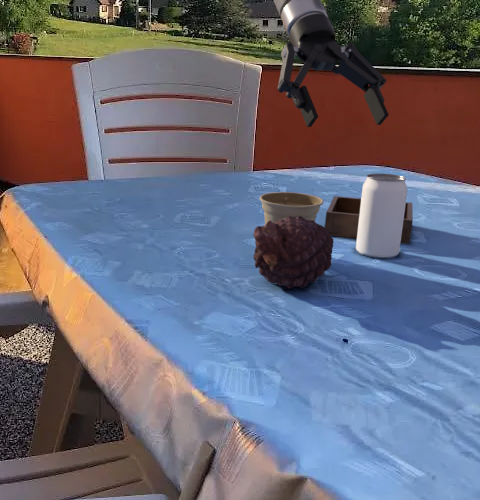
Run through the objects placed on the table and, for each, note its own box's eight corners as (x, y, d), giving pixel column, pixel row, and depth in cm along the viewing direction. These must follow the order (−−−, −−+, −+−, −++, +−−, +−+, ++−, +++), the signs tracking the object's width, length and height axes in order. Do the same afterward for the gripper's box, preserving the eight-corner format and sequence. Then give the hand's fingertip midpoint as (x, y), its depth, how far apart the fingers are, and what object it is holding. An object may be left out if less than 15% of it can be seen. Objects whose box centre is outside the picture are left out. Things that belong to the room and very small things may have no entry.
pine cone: (280, 257, 107) (323, 207, 103) (325, 304, 102) (372, 253, 98) (215, 251, 93) (262, 192, 89) (264, 304, 88) (315, 245, 84)
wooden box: (409, 224, 128) (412, 202, 126) (409, 244, 115) (412, 220, 114) (331, 216, 132) (334, 195, 131) (324, 235, 120) (326, 212, 119)
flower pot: (320, 264, 104) (325, 207, 102) (255, 260, 106) (259, 203, 103) (316, 246, 113) (321, 193, 110) (256, 242, 114) (260, 190, 112)
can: (358, 244, 114) (367, 171, 111) (401, 250, 112) (411, 175, 108) (352, 255, 109) (360, 178, 105) (396, 261, 106) (406, 182, 103)
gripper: (357, 43, 135) (398, 132, 125) (238, 41, 127) (272, 136, 118) (377, 13, 128) (423, 105, 119) (253, 9, 121) (291, 107, 111)
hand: (348, 121), depth 118 cm, fingers open, 13 cm apart
